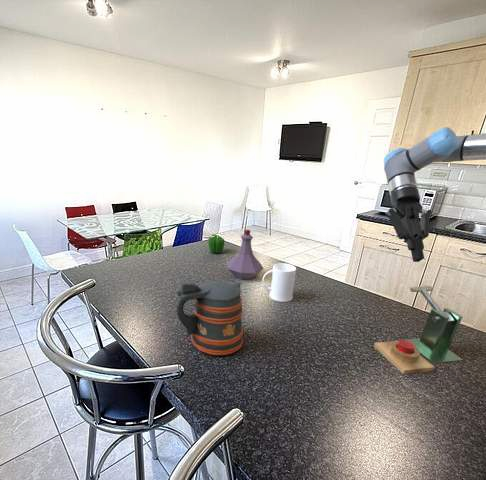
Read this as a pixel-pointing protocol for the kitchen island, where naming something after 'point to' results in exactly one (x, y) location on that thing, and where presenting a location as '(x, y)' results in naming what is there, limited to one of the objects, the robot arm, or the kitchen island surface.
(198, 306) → the beer stein
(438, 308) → the lever
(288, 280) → the mug
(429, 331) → the bracket
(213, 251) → the bell pepper
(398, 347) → the button
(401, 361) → the button block
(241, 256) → the flask
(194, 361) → the kitchen island surface
